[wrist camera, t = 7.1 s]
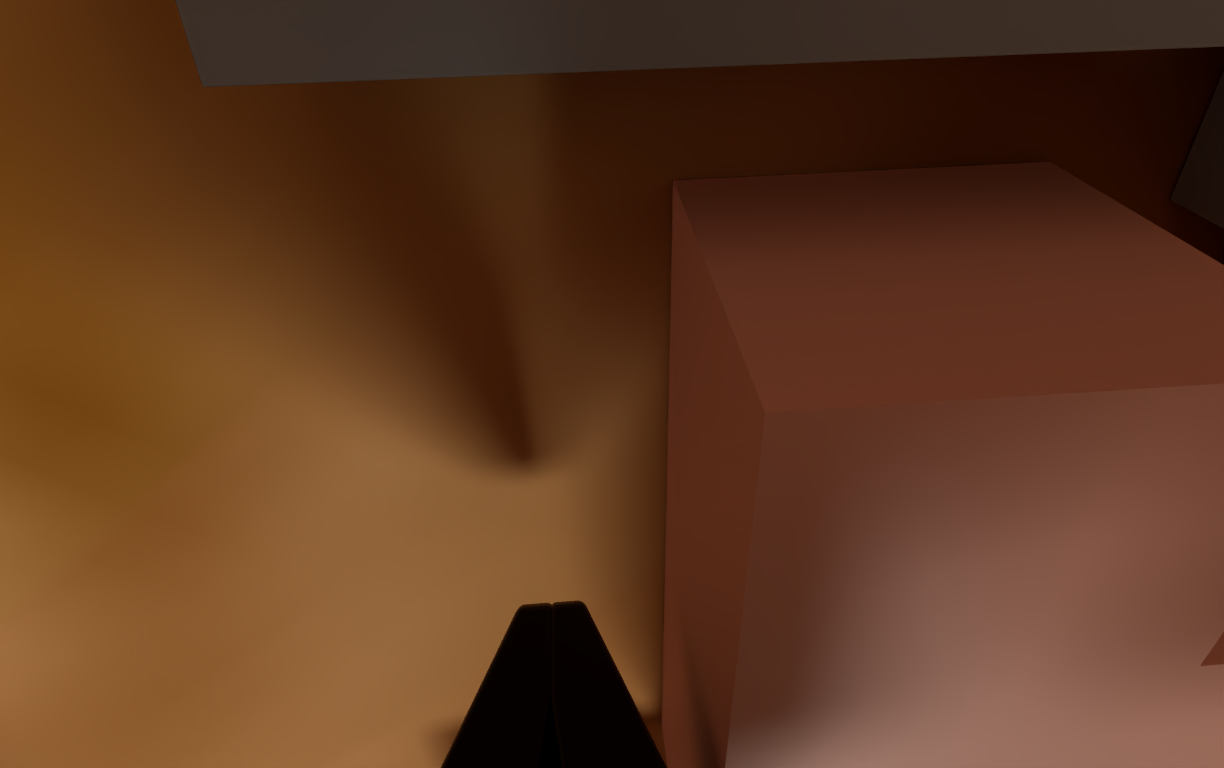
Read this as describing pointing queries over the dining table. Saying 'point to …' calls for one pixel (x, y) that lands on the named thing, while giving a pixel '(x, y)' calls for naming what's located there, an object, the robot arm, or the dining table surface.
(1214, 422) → the t block
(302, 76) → the t socket
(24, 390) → the dining table surface
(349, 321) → the dining table surface
